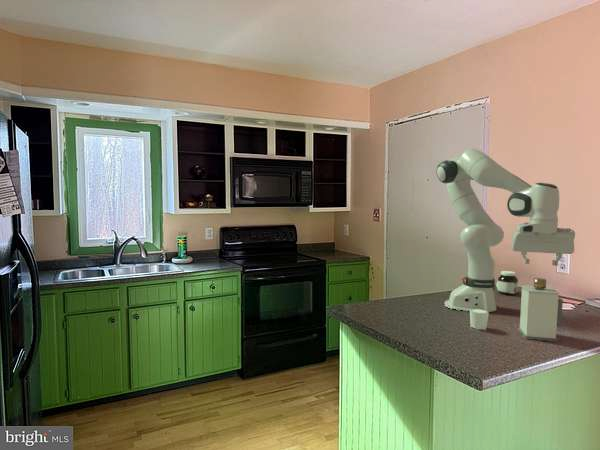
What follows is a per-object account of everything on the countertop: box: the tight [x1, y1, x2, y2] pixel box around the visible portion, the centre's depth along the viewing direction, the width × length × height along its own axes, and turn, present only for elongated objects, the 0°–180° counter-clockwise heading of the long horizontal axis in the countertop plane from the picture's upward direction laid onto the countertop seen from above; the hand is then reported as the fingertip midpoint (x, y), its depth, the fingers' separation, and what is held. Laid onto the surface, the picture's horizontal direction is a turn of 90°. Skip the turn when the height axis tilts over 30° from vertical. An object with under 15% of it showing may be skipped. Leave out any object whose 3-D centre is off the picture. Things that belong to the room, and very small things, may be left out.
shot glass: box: [469, 309, 490, 330], centre depth 163 cm, size 7×7×7 cm
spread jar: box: [495, 270, 519, 296], centre depth 221 cm, size 12×11×12 cm
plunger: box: [533, 277, 547, 290], centre depth 154 cm, size 7×7×20 cm
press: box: [518, 284, 564, 343], centre depth 154 cm, size 13×10×18 cm
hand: (540, 264), depth 153 cm, fingers open, 8 cm apart
